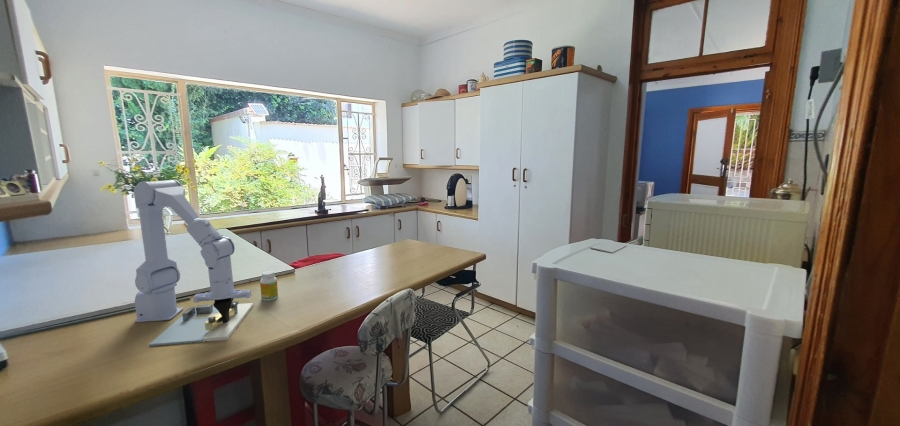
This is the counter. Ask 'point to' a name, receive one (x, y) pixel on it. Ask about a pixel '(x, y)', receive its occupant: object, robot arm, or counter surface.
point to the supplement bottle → (268, 286)
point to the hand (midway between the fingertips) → (226, 321)
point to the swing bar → (216, 320)
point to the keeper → (197, 311)
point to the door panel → (201, 328)
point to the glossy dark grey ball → (234, 306)
